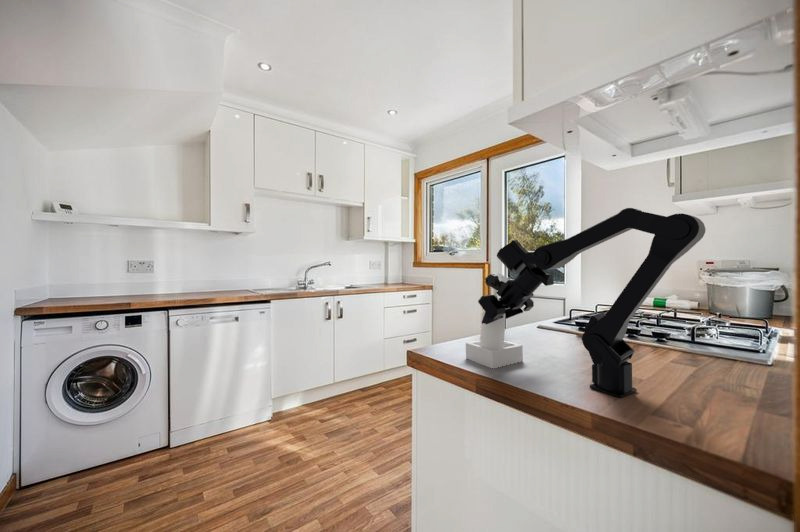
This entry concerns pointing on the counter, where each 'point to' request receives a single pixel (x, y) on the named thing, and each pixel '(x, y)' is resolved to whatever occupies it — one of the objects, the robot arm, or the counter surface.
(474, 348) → the box
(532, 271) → the robot arm
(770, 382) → the counter surface
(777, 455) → the counter surface
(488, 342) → the can
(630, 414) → the counter surface
